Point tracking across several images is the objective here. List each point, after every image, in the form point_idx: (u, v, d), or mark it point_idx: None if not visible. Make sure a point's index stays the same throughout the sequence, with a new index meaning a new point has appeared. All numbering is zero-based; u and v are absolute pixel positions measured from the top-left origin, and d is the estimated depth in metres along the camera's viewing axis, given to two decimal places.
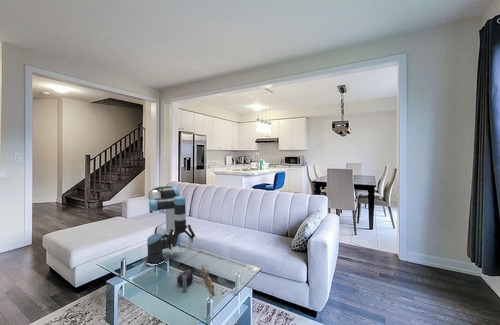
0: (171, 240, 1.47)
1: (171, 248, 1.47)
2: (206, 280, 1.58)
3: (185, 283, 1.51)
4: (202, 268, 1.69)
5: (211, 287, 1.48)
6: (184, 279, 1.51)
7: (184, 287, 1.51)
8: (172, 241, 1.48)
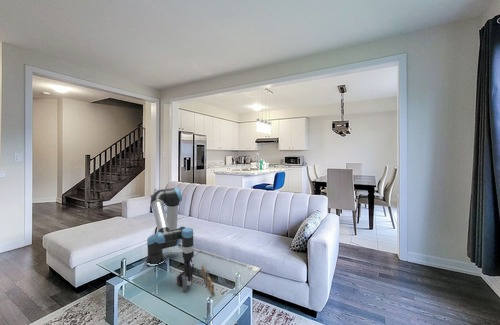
0: None
1: None
2: (206, 280, 1.58)
3: (185, 283, 1.51)
4: (202, 268, 1.69)
5: (211, 287, 1.48)
6: (184, 279, 1.51)
7: (184, 287, 1.51)
8: None
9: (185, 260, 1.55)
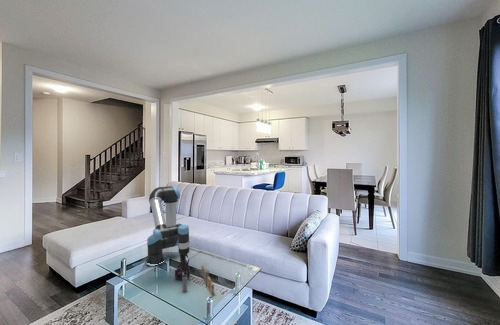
0: None
1: (186, 273, 1.63)
2: (206, 280, 1.58)
3: (185, 283, 1.51)
4: (202, 268, 1.69)
5: (211, 287, 1.48)
6: (184, 279, 1.51)
7: (184, 287, 1.51)
8: None
9: (181, 256, 1.61)
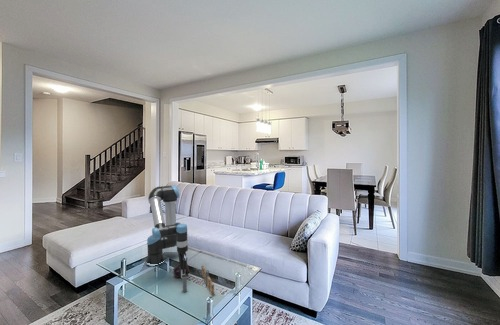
0: None
1: None
2: (206, 280, 1.58)
3: (185, 283, 1.51)
4: (202, 268, 1.69)
5: (211, 287, 1.48)
6: (184, 279, 1.51)
7: (184, 287, 1.51)
8: None
9: (179, 254, 1.64)
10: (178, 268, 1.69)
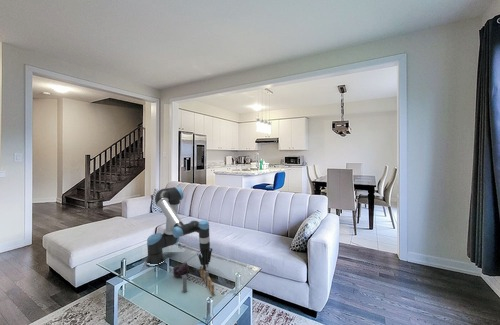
0: None
1: None
2: (206, 280, 1.58)
3: (185, 283, 1.51)
4: (201, 268, 1.68)
5: (211, 287, 1.48)
6: (184, 279, 1.51)
7: (184, 287, 1.51)
8: None
9: (205, 251, 1.66)
10: (178, 268, 1.70)
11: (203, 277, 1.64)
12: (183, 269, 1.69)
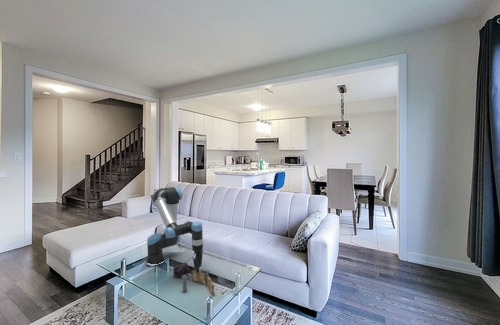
0: None
1: None
2: (206, 280, 1.58)
3: (185, 283, 1.51)
4: (194, 272, 1.64)
5: (211, 287, 1.48)
6: (184, 279, 1.51)
7: (184, 287, 1.51)
8: None
9: (199, 253, 1.63)
10: (178, 268, 1.70)
11: (199, 279, 1.62)
12: (183, 269, 1.69)
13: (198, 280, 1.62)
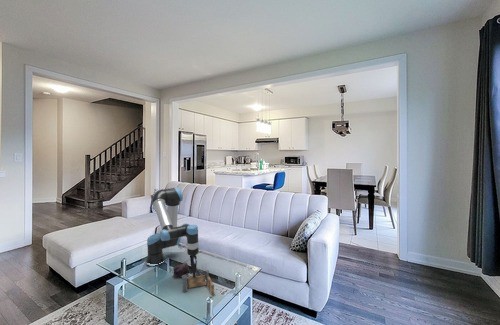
0: (191, 267, 1.59)
1: None
2: (206, 280, 1.58)
3: (185, 283, 1.51)
4: (190, 278, 1.55)
5: (211, 287, 1.48)
6: (184, 279, 1.51)
7: (184, 287, 1.51)
8: (191, 268, 1.58)
9: (195, 256, 1.57)
10: (178, 267, 1.70)
11: (198, 283, 1.57)
12: (183, 269, 1.69)
13: (196, 285, 1.57)
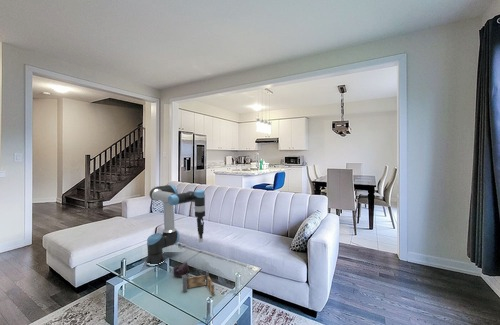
0: (198, 229, 1.70)
1: None
2: (206, 280, 1.58)
3: (185, 283, 1.51)
4: (190, 278, 1.55)
5: (211, 287, 1.48)
6: (184, 279, 1.51)
7: (184, 287, 1.51)
8: (198, 230, 1.69)
9: None
10: (178, 267, 1.70)
11: (198, 283, 1.57)
12: (183, 269, 1.69)
13: (196, 285, 1.57)
